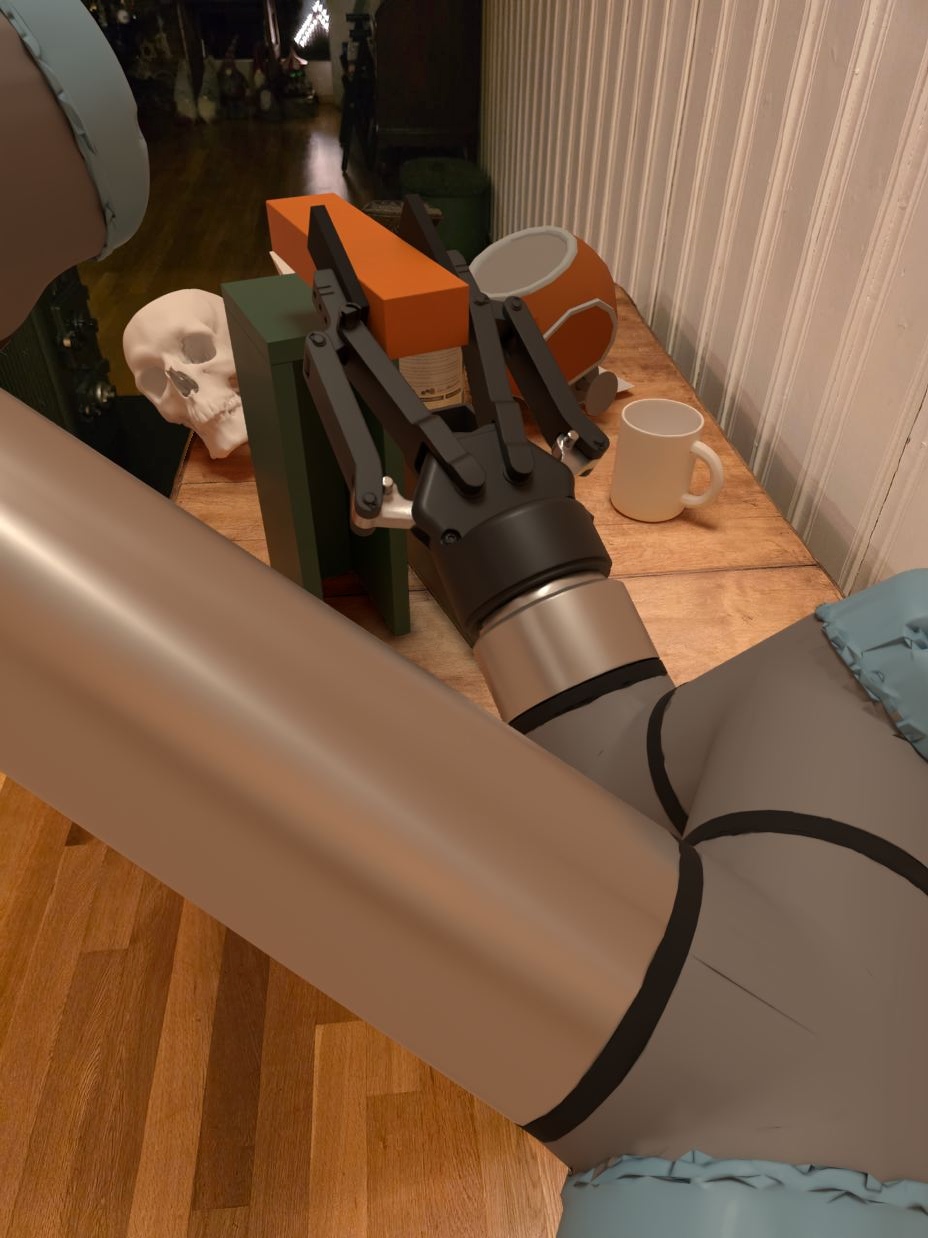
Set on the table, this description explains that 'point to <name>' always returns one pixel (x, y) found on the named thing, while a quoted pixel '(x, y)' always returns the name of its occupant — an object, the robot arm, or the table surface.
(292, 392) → the stand
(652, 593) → the table surface
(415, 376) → the coffee can
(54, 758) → the robot arm
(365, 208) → the toy tank
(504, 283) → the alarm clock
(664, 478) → the mug
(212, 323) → the white skull
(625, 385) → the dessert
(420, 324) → the orange rectangular bar
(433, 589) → the black open rectangular box
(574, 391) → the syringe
